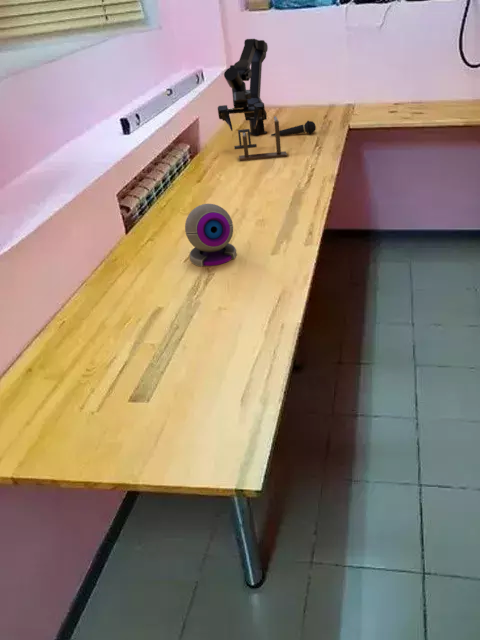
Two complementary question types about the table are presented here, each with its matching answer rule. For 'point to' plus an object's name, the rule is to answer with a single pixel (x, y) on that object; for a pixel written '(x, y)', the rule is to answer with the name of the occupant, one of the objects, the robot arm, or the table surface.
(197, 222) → the webcam
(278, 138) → the rack
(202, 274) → the table surface
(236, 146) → the black piece
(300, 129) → the microphone
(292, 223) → the table surface
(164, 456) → the table surface
